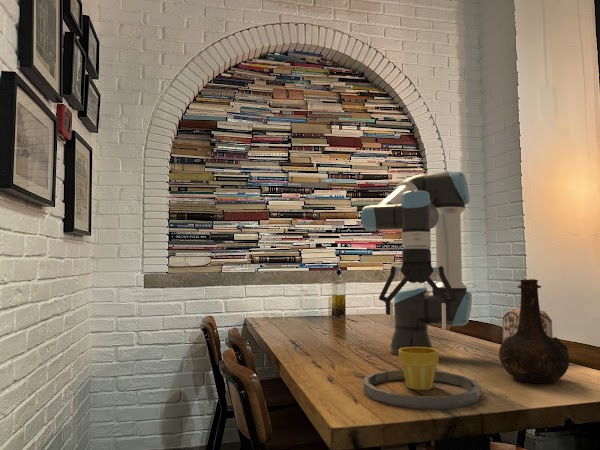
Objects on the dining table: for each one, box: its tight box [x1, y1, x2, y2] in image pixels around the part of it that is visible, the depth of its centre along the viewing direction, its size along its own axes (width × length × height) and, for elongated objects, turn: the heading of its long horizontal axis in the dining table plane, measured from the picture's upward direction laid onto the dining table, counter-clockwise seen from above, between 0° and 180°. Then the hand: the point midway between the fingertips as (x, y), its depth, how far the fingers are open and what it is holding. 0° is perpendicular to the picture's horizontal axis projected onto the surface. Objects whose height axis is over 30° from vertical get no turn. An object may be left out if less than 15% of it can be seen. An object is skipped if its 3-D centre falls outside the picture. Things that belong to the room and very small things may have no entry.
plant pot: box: [398, 347, 440, 391], centre depth 131 cm, size 10×10×10 cm
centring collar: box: [363, 369, 482, 410], centre depth 126 cm, size 28×28×2 cm
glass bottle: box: [498, 278, 570, 384], centre depth 139 cm, size 18×18×28 cm
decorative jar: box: [502, 303, 554, 343], centre depth 171 cm, size 12×12×18 cm
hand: (417, 328), depth 132 cm, fingers open, 13 cm apart
